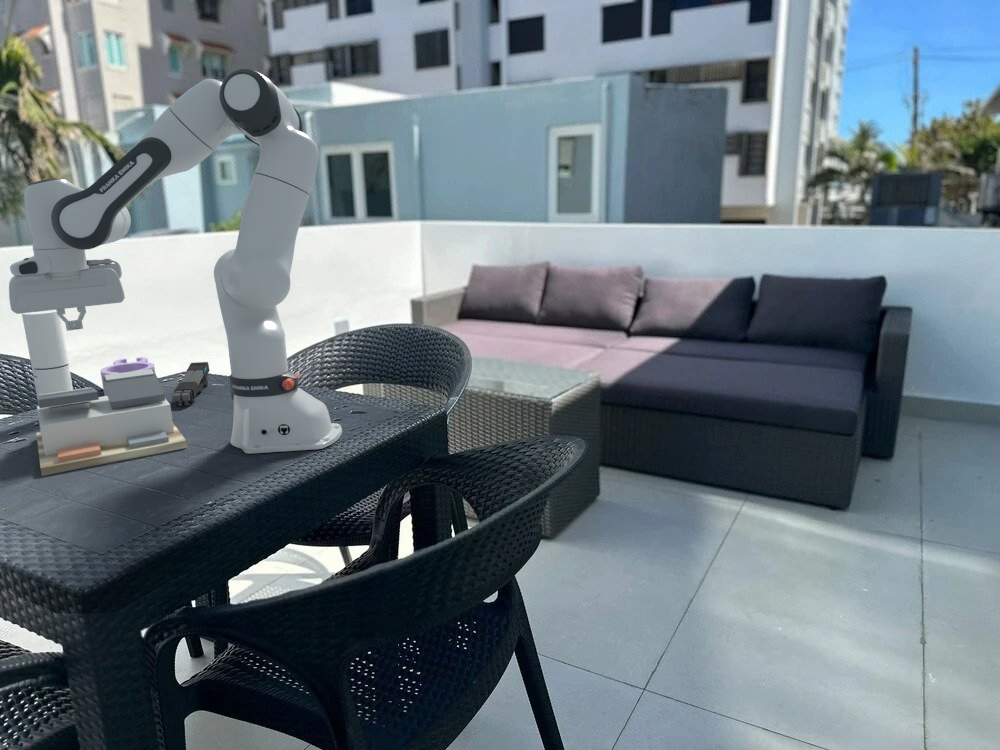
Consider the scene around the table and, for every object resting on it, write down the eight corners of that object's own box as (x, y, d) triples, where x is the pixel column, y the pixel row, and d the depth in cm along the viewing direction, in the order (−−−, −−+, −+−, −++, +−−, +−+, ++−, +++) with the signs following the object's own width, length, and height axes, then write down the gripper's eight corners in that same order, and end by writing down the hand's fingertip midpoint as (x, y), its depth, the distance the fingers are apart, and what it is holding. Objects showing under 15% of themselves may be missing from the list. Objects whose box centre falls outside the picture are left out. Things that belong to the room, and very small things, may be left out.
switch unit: (37, 439, 149) (30, 399, 147) (165, 417, 163) (160, 381, 161) (41, 475, 129) (33, 430, 127) (187, 447, 143) (181, 406, 140)
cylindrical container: (60, 423, 159) (41, 314, 153) (34, 422, 161) (13, 314, 155) (84, 414, 166) (67, 309, 160) (58, 413, 167) (40, 309, 161)
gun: (213, 383, 192) (206, 351, 186) (198, 427, 175) (189, 395, 170) (196, 383, 191) (188, 352, 185) (179, 429, 175) (170, 396, 169)
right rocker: (103, 382, 151) (102, 374, 150) (154, 375, 156) (153, 367, 156) (111, 409, 142) (110, 400, 142) (165, 400, 148) (164, 392, 147)
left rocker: (39, 403, 145) (37, 394, 145) (94, 395, 150) (93, 386, 150) (39, 408, 135) (37, 398, 135) (98, 399, 140) (97, 390, 140)
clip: (110, 384, 194) (106, 360, 192) (159, 379, 198) (156, 355, 196) (101, 403, 176) (96, 376, 174) (156, 397, 180) (152, 371, 179)
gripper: (116, 256, 150) (128, 320, 154) (1, 265, 139) (16, 334, 143) (121, 258, 145) (132, 324, 149) (1, 268, 134) (17, 339, 138)
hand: (74, 329), depth 146 cm, fingers closed
